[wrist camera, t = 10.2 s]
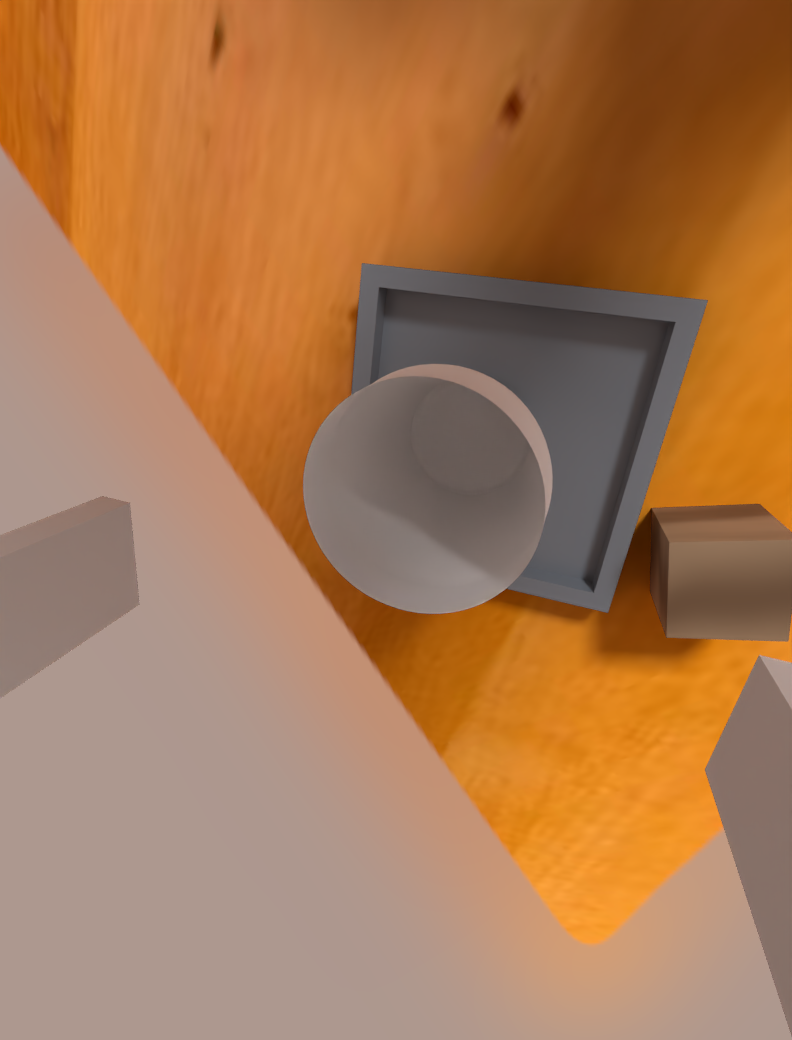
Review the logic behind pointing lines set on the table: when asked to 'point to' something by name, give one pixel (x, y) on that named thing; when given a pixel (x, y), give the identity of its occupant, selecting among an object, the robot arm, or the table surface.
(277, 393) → the table surface
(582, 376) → the tray
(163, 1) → the table surface
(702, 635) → the walnut cube
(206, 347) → the table surface
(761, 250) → the table surface
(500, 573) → the cup
